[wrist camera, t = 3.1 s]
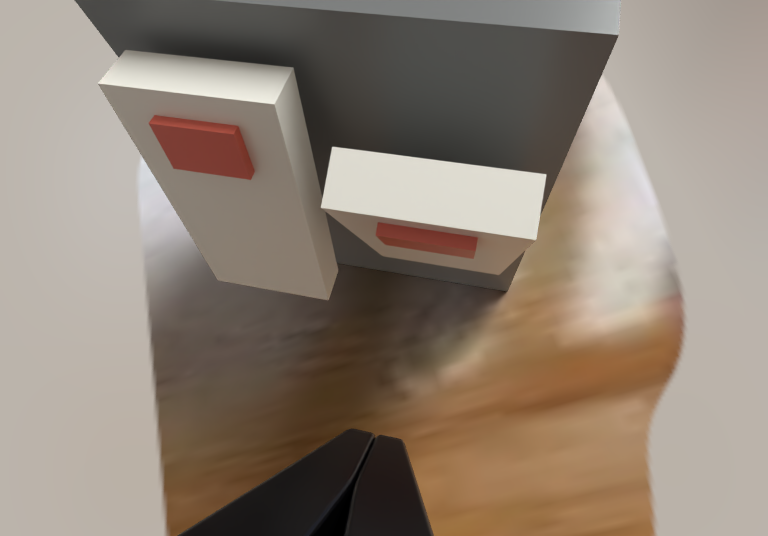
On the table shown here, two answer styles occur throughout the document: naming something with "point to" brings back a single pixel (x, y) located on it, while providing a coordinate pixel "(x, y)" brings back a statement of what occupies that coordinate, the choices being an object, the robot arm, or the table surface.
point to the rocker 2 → (435, 208)
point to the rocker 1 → (231, 164)
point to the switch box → (403, 79)
